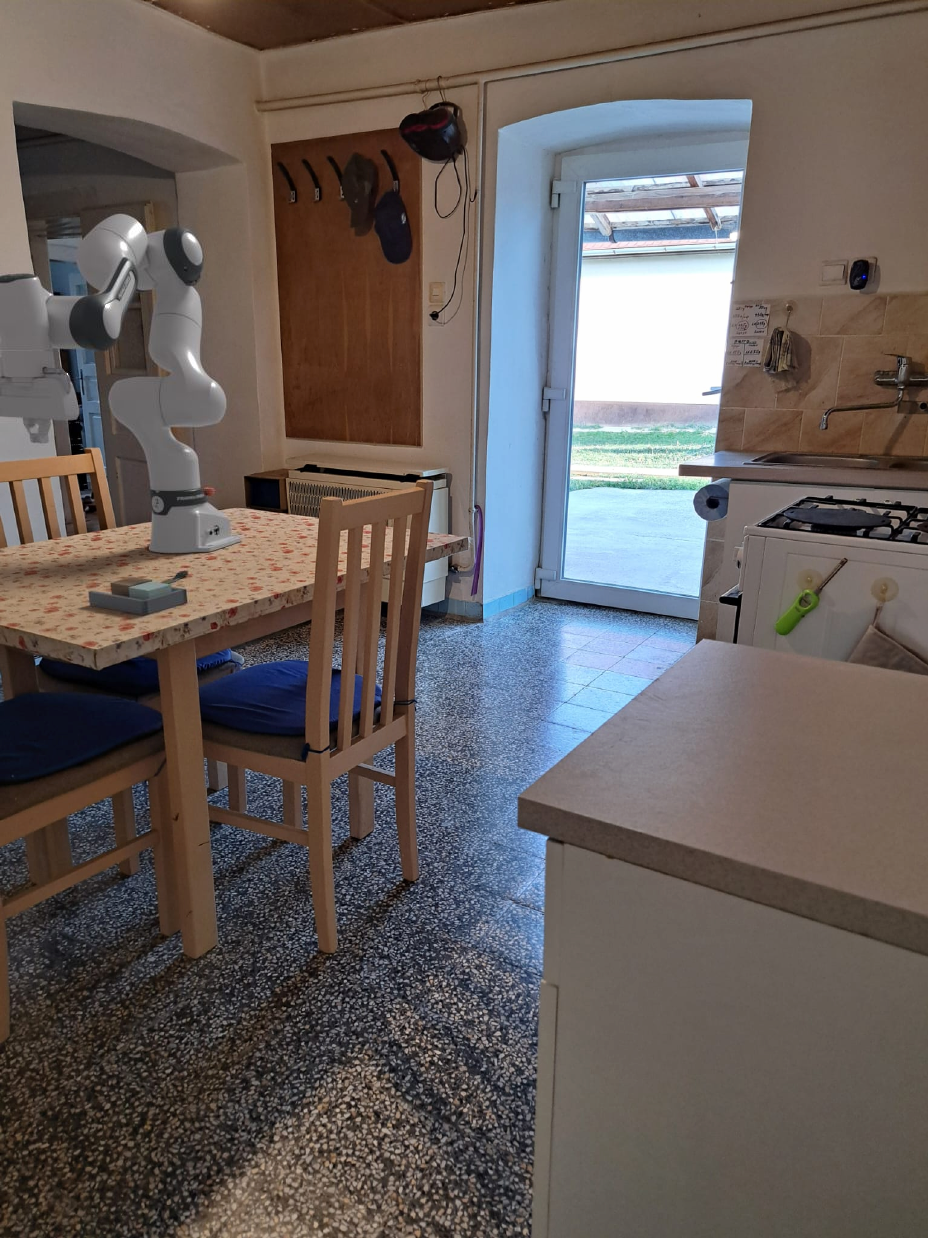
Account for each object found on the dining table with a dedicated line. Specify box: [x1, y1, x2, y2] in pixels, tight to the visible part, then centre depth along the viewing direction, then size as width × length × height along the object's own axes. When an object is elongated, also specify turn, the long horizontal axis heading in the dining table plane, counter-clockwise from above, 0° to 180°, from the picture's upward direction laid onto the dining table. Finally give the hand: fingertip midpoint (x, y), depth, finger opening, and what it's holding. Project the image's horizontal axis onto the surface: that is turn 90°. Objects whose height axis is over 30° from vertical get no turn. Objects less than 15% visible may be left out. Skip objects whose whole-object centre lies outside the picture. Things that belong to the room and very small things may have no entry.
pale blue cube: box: [128, 581, 172, 600], centre depth 149 cm, size 5×5×4 cm
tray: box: [87, 586, 188, 616], centre depth 151 cm, size 10×14×2 cm
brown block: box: [110, 576, 153, 597], centre depth 152 cm, size 5×5×4 cm
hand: (39, 442), depth 161 cm, fingers closed
